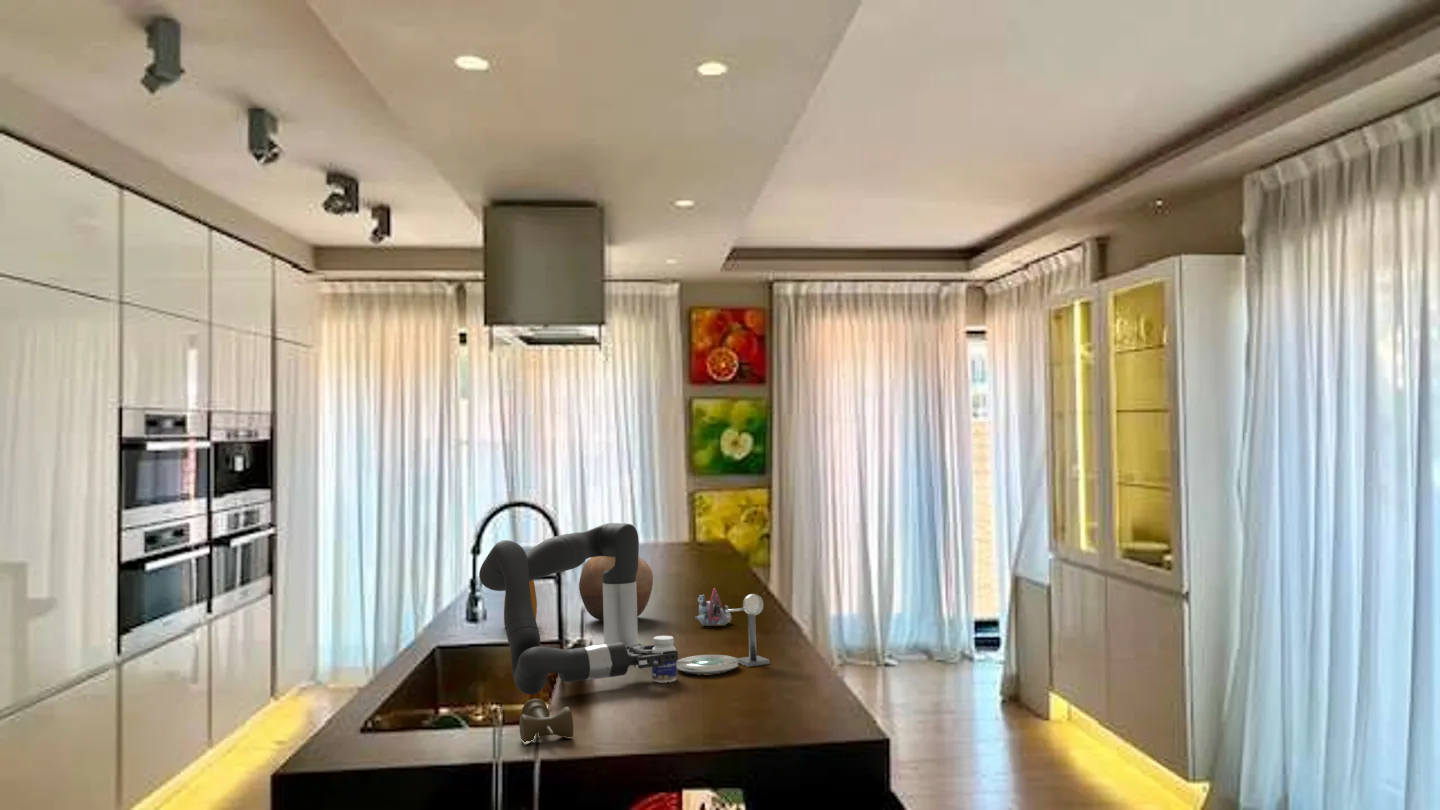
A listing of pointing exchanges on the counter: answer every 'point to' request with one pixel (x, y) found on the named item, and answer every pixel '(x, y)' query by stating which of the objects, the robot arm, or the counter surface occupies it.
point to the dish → (707, 664)
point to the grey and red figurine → (712, 611)
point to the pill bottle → (669, 668)
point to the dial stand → (752, 629)
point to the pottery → (594, 585)
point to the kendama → (544, 721)
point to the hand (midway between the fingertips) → (669, 651)
